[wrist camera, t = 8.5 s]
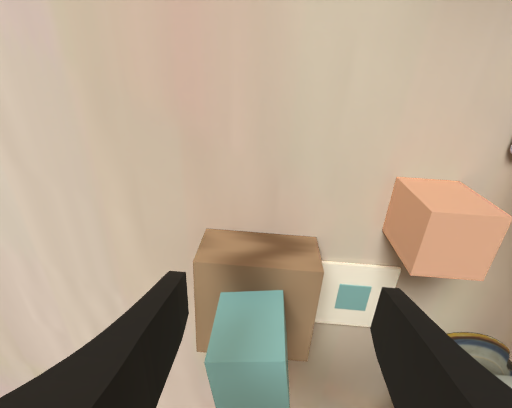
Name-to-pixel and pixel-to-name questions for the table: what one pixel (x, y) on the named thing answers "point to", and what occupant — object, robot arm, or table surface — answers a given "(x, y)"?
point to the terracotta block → (444, 228)
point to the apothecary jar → (487, 353)
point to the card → (352, 292)
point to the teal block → (249, 351)
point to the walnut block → (259, 279)
